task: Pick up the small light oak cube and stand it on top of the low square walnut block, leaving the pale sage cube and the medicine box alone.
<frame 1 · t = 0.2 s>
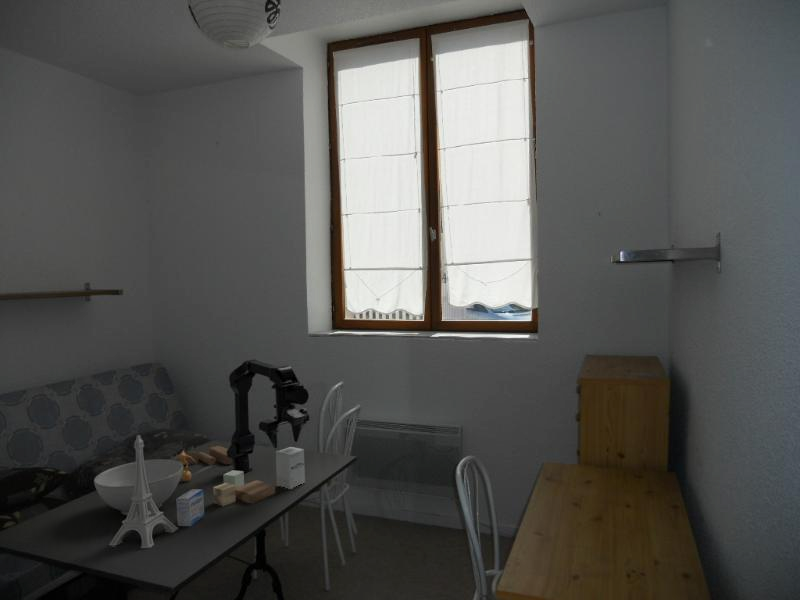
hand: (285, 444, 203), 15 cm above the table, tool pointing down, fingers open, 9 cm apart
decorative bowl: (141, 508, 188), on the table
oak block: (224, 502, 190), on the table
figurine: (185, 482, 211), on the table
eiffel tower: (144, 538, 165), on the table
wooden block set: (208, 465, 233), on the table
supplement box: (291, 485, 204), on the table
medicine box: (191, 521, 175), on the table
sage cube: (234, 486, 204), on the table
walnut block: (254, 497, 194), on the table
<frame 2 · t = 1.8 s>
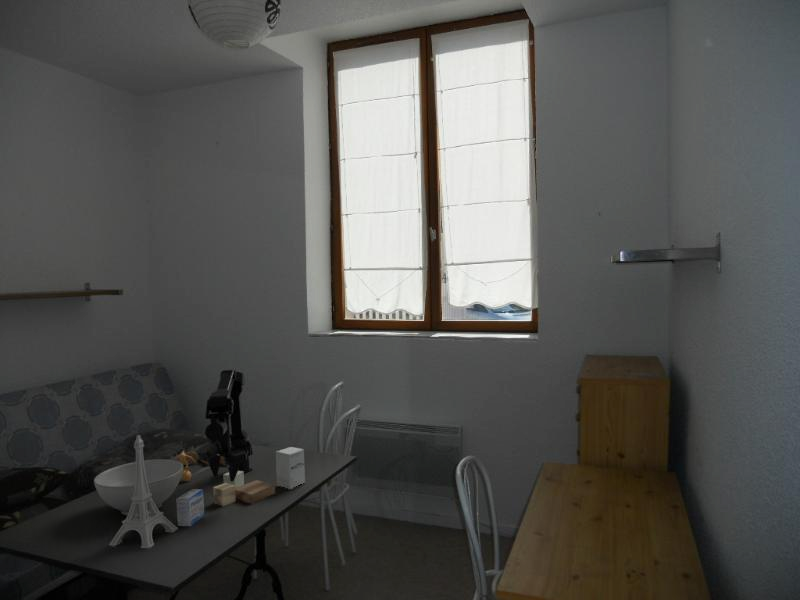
hand: (223, 478, 190), 8 cm above the table, tool pointing down, fingers open, 9 cm apart
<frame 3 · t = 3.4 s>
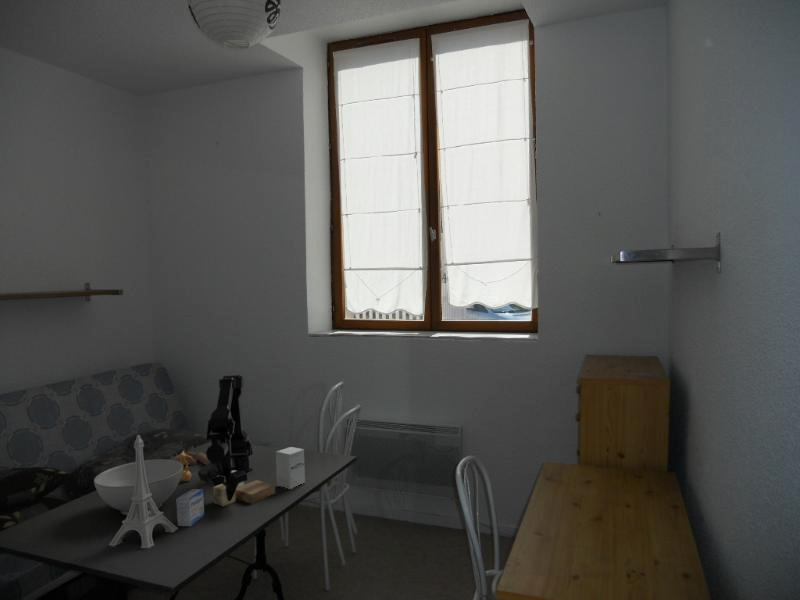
hand: (224, 499, 190), 1 cm above the table, tool pointing down, fingers closed on oak block, 5 cm apart
oak block: (224, 502, 190), on the table, touching gripper
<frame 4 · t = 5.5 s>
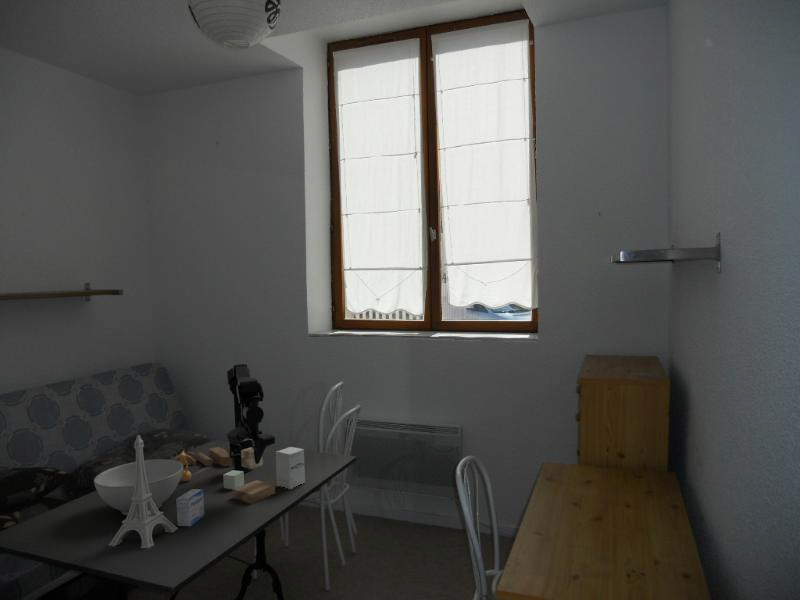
hand: (252, 462, 194), 12 cm above the table, tool pointing down, fingers closed on oak block, 5 cm apart
oak block: (252, 465, 194), point 11 cm above the table, touching gripper
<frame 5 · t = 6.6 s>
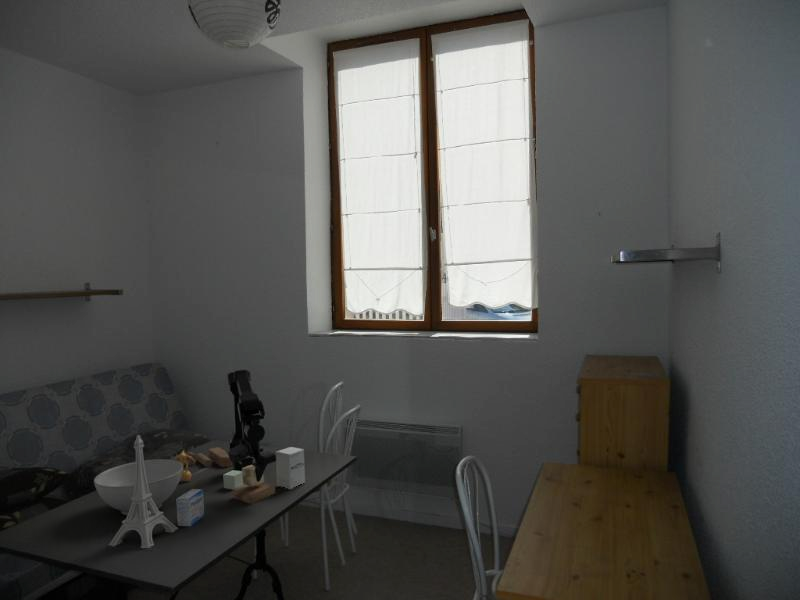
hand: (253, 479, 194), 6 cm above the table, tool pointing down, fingers closed on oak block, 5 cm apart
oak block: (253, 483, 194), point 4 cm above the table, touching gripper
when the fingers open (5 cm above the table, at t = 7.3 s): oak block drops 1 cm, resting on walnut block.
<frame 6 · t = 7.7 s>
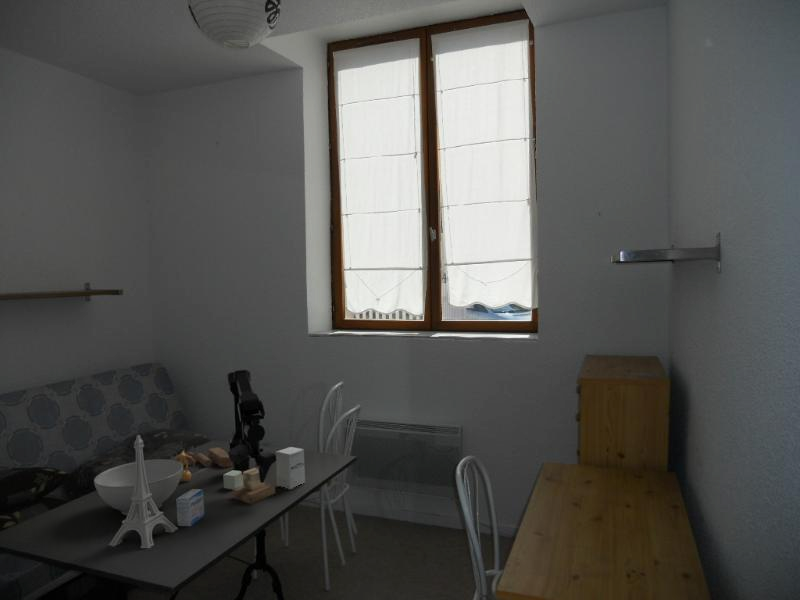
hand: (253, 480, 194), 5 cm above the table, tool pointing down, fingers open, 9 cm apart
oak block: (254, 487, 194), point 3 cm above the table, touching walnut block
walnut block: (254, 497, 194), on the table, touching oak block
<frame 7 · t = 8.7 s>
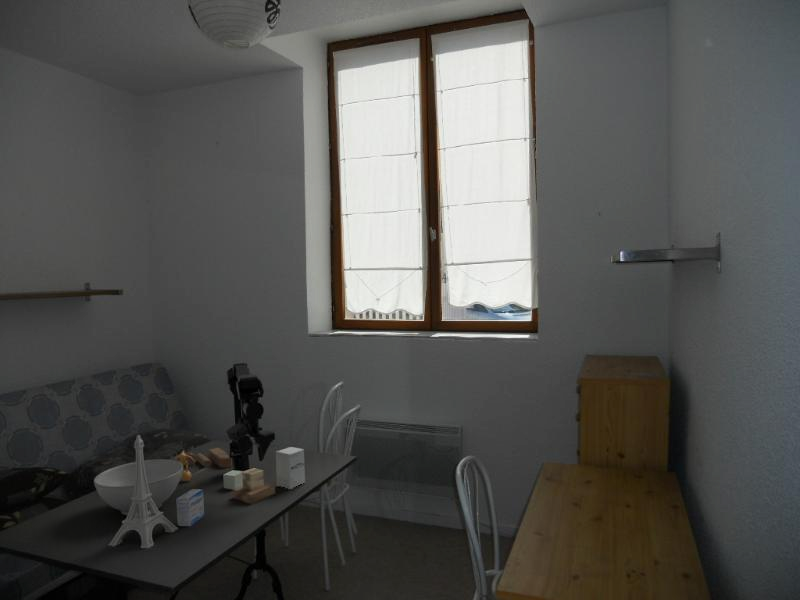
hand: (252, 458, 194), 13 cm above the table, tool pointing down, fingers open, 9 cm apart
oak block: (253, 487, 194), point 3 cm above the table
walnut block: (254, 497, 194), on the table
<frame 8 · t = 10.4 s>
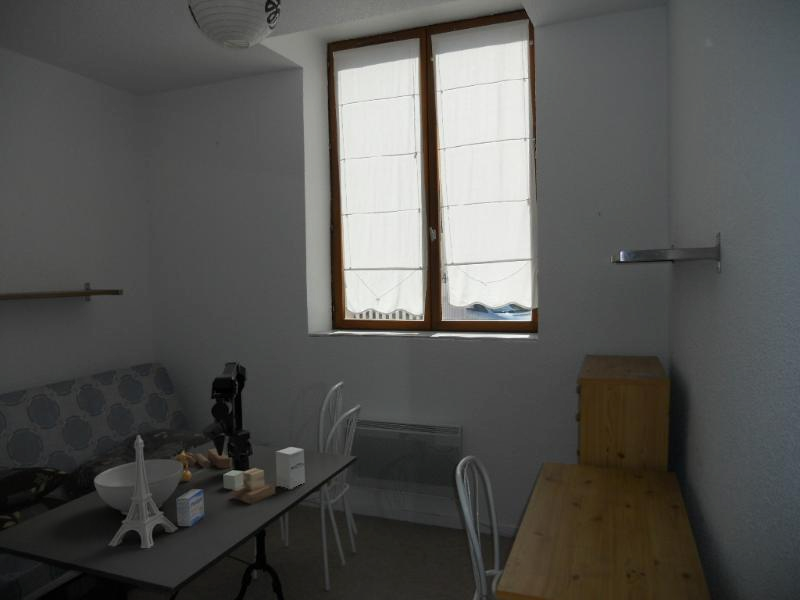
hand: (228, 457, 196), 13 cm above the table, tool pointing down, fingers open, 9 cm apart
at the end: oak block inside the target area on the walnut block (0.2 cm from its centre), point 3.5 cm above the walnut block's base; oak block tilted 0°; the gripper is holding nothing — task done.
